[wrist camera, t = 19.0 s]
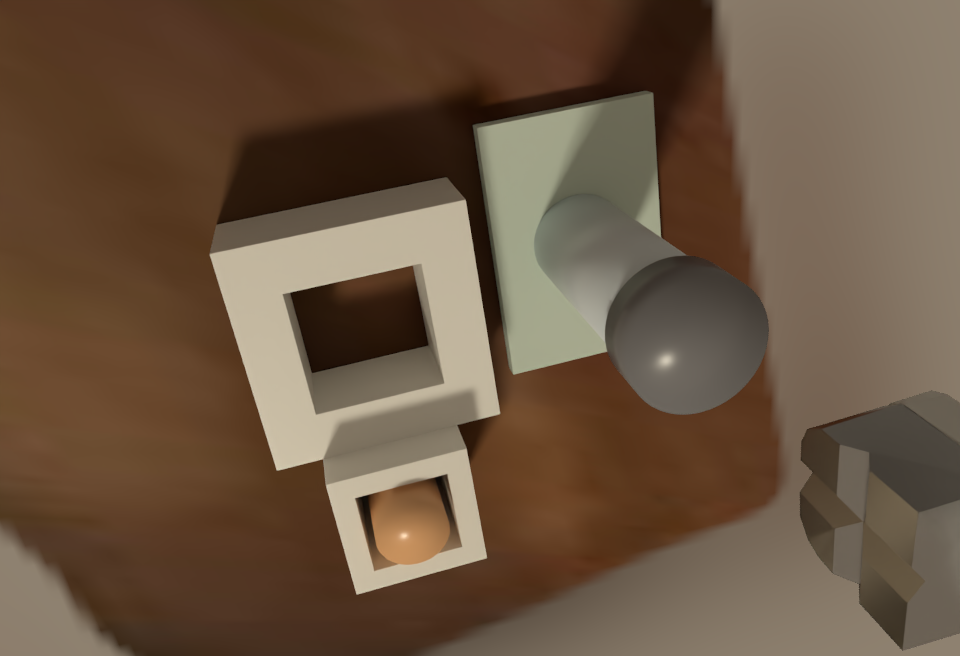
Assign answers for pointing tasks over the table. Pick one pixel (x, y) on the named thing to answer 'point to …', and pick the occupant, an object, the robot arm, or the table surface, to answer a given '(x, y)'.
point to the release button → (409, 522)
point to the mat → (541, 184)
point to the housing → (371, 383)
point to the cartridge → (653, 305)
